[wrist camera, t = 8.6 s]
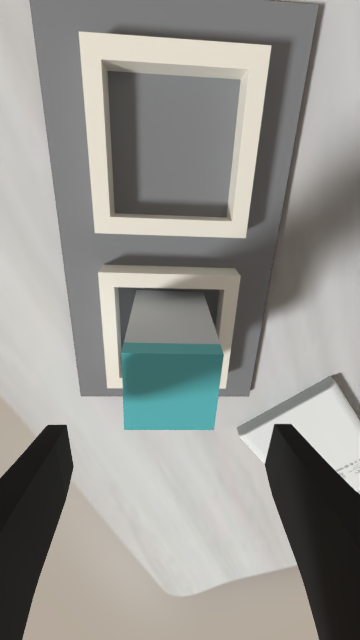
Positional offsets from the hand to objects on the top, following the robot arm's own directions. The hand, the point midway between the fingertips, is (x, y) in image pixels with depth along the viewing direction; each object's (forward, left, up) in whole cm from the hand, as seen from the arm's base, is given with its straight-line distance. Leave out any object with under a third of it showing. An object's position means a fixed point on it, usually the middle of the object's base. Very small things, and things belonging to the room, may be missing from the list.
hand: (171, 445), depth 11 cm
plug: (0, 0, -9) cm, 9 cm away
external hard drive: (-17, +1, -11) cm, 20 cm away
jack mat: (+3, -4, -10) cm, 11 cm away
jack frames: (+3, -4, -10) cm, 11 cm away
